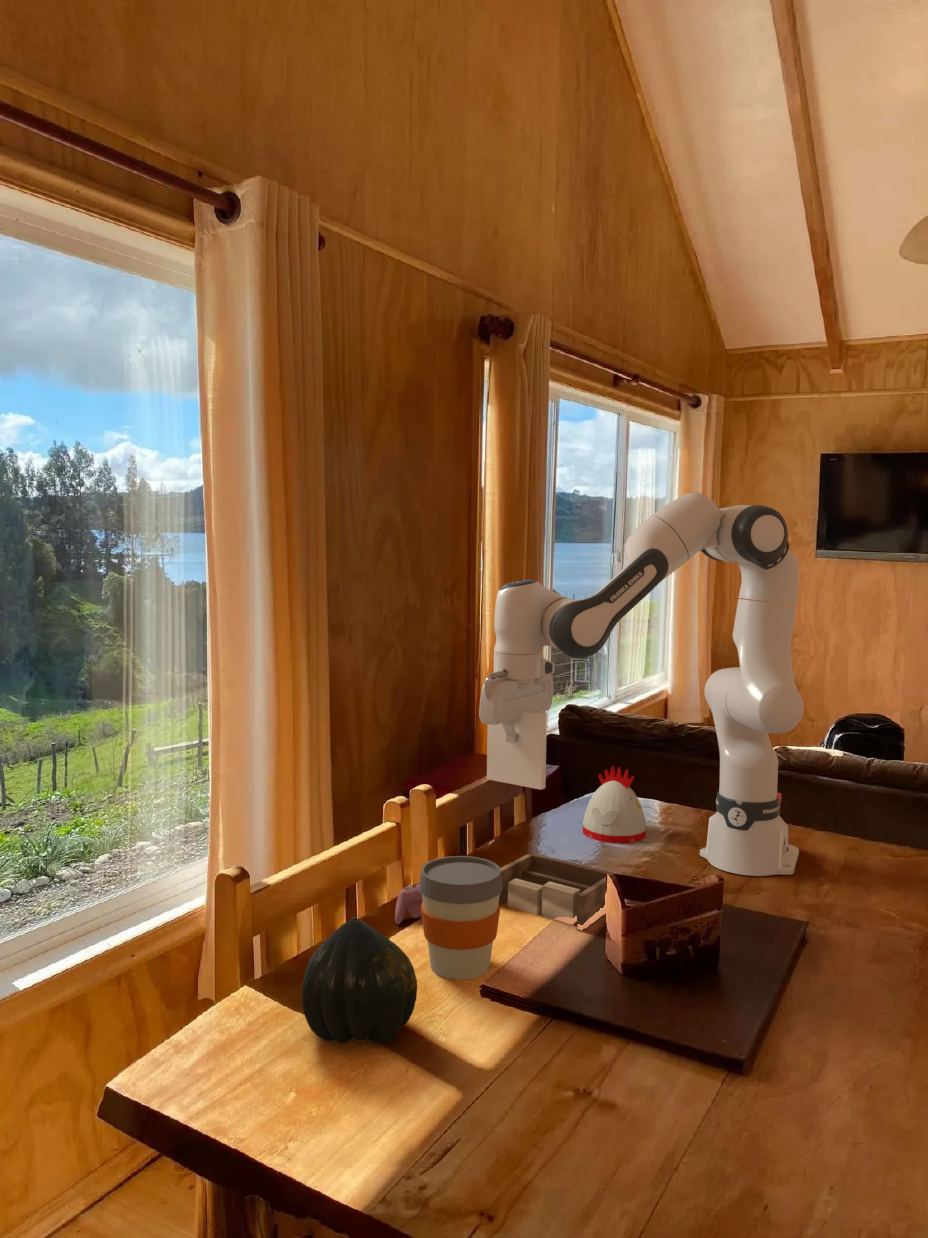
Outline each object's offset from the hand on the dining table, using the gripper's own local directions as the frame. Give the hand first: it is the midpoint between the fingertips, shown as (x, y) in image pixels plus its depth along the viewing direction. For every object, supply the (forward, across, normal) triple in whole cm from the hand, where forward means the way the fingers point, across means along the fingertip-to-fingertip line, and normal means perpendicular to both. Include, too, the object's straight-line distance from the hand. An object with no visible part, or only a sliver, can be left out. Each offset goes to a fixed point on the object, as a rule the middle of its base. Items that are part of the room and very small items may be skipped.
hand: (516, 740), depth 171 cm
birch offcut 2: (+27, -10, -16) cm, 33 cm away
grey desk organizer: (+27, -6, -12) cm, 30 cm away
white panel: (+8, 0, 0) cm, 8 cm away
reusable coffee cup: (+27, -34, -12) cm, 45 cm away
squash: (+27, -57, -12) cm, 64 cm away
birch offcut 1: (+27, -10, -8) cm, 30 cm away
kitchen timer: (+27, +38, -2) cm, 47 cm away
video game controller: (+27, -24, +3) cm, 37 cm away
